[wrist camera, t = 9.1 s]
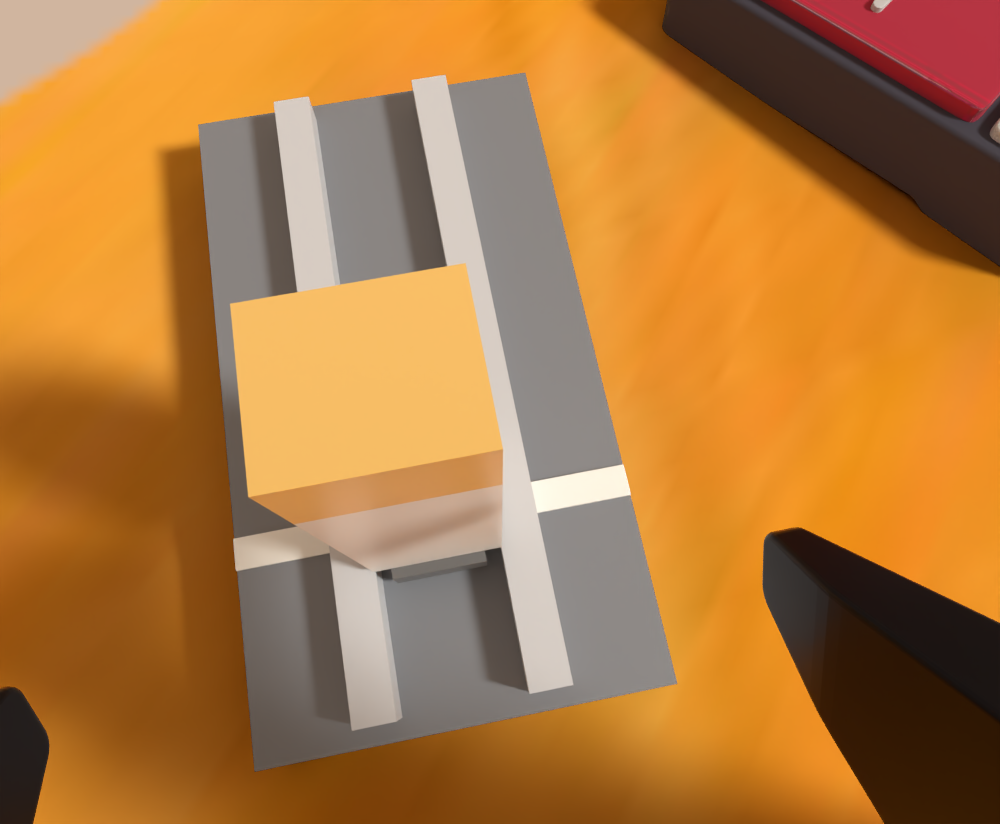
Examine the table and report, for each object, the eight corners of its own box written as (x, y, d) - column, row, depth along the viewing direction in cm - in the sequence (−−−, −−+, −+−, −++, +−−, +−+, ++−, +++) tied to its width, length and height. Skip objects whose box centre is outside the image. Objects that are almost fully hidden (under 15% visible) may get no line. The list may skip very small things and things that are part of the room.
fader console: (659, 680, 20) (687, 685, 17) (279, 759, 19) (240, 779, 16) (523, 116, 25) (526, 47, 22) (221, 165, 24) (184, 101, 22)
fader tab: (503, 562, 18) (506, 469, 9) (381, 586, 18) (250, 518, 9) (481, 445, 19) (462, 246, 10) (364, 467, 19) (228, 286, 9)
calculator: (876, -245, 25) (1326, -33, 22) (829, -118, 29) (1200, 79, 26) (673, -62, 23) (1139, 214, 19) (652, 49, 27) (1032, 294, 23)
